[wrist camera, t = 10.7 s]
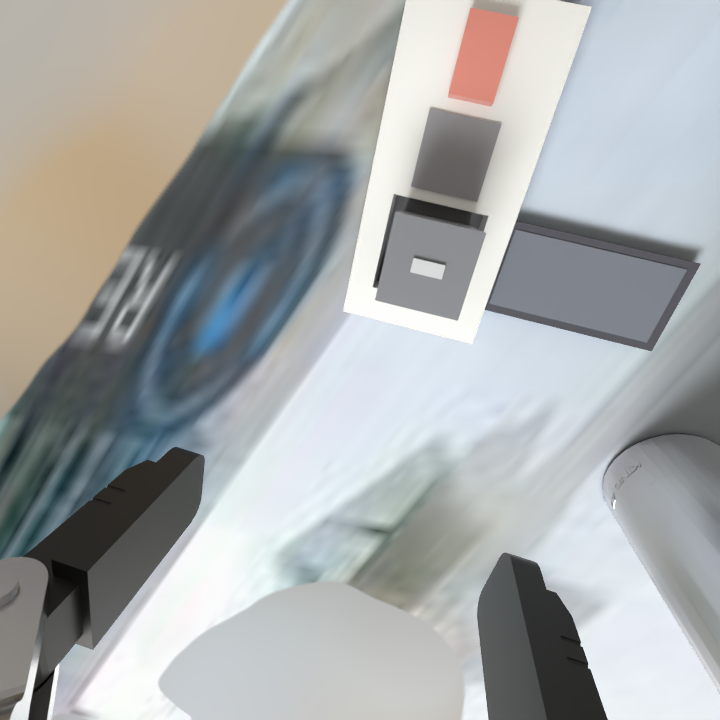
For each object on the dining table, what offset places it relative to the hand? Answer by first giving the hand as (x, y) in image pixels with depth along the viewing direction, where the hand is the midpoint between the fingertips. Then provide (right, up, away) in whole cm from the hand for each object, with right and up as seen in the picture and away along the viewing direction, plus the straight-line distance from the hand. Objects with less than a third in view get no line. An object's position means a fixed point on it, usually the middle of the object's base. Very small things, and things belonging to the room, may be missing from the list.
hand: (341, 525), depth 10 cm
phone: (+15, +9, +16) cm, 24 cm away
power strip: (+6, +16, +15) cm, 23 cm away
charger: (+5, +12, +16) cm, 21 cm away
